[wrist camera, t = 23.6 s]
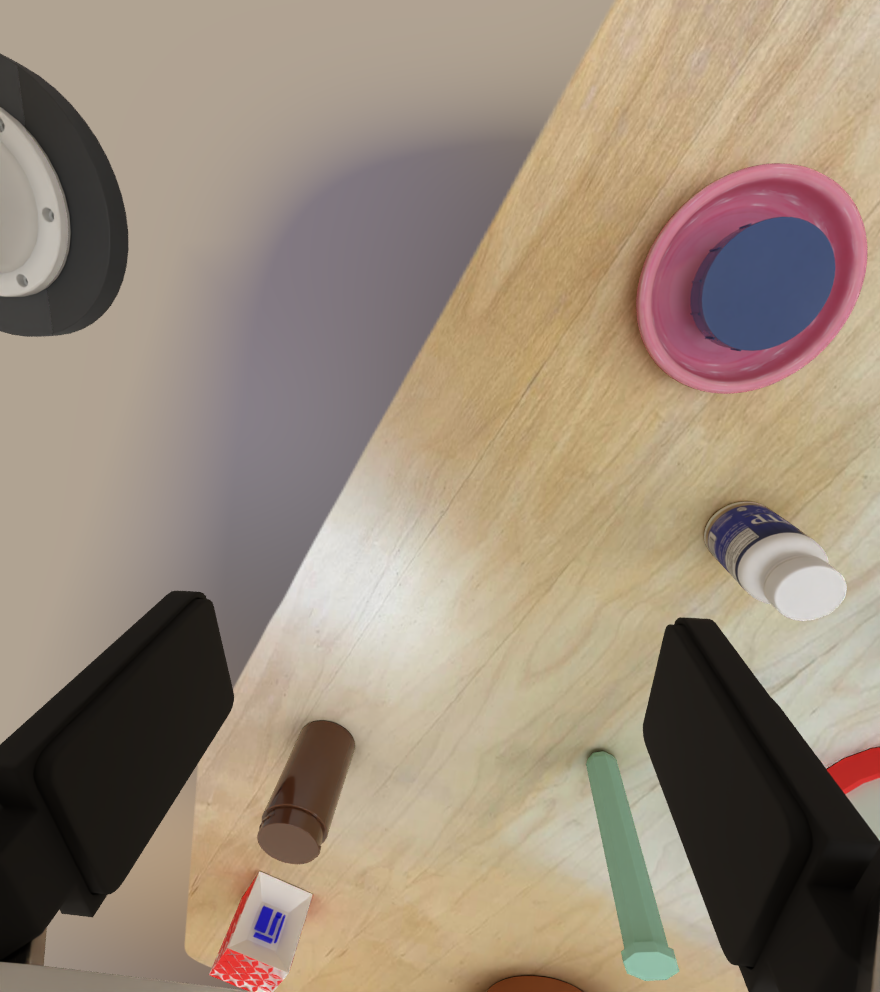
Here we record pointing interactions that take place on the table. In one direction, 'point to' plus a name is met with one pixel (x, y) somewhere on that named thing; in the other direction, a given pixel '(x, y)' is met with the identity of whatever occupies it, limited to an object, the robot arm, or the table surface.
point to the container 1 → (629, 876)
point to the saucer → (701, 230)
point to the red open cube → (263, 935)
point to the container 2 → (861, 784)
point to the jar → (307, 794)
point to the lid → (763, 284)
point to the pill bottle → (775, 561)
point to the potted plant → (532, 985)
